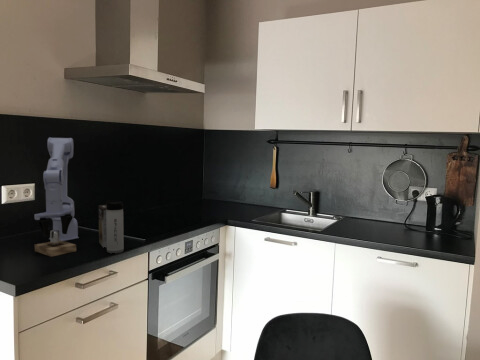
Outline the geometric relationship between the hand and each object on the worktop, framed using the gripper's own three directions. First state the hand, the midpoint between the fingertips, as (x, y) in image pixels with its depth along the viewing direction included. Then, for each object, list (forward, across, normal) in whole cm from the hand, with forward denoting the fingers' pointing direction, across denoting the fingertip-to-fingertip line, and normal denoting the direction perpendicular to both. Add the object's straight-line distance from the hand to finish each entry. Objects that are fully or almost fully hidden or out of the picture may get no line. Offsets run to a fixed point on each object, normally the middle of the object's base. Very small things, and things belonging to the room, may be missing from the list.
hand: (55, 235), depth 154 cm
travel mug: (+6, +14, -18) cm, 24 cm away
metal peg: (+6, 0, 0) cm, 6 cm away
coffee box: (+6, +19, -7) cm, 21 cm away
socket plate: (+6, 0, 0) cm, 6 cm away
